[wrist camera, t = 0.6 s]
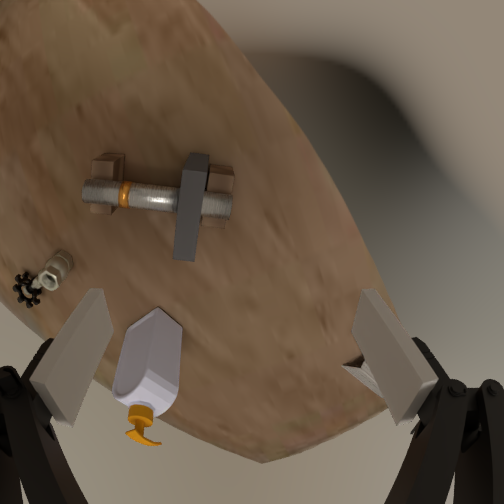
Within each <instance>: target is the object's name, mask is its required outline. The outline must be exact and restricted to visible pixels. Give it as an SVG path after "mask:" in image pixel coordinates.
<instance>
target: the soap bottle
mask: <svg viewBox="0 0 504 504" xmlns="http://www.w3.org/2000/svg"><path fill="white" fill-rule="evenodd" d="M181 342H182V327H181V326H180V325H179V324H178V323H177V322H175V321H174V320H173V319H172V318H171V317H169V316H168V315H167V314H166V313H165V312H164V311H162V310H161V309H160V308H159V307H157V308H155V309H154V310H152V311H151V312H150V313H148V314H147V315H145V316H144V317H142V318H141V319H140V320H138V321H137V322H135V323H134V324H133V325H131V326H130V327H129V328H128V329H127V331H126V335H125V338H124V342H123V346H122V350H121V354H120V358H119V362H118V366H117V370H116V374H115V378H114V383H113V387H112V394H113V396H114V398H115V399H116V400H118V401H119V402H121V403H123V404H125V405H126V406H128V408H129V415H128V421H129V422H130V423H131V424H133V425H135V429H133V430H130V431H127V432H126V433H125V434H126V435H128V436H129V437H130V438H131V439H133V440H135V441H136V442H139V443H141V444H144V445H147V446H158V445H161V444H162V443H161V442H153V441H151V440H149V439H147V438H145V437H144V436H143V434H144V427H149V426H151V425H152V423H153V417H157V416H159V415H161V414H162V413H164V412H165V411H166V410H167V409H168V408H169V407H170V406H171V405H172V404H173V402H174V400H175V398H176V397H177V393H178V389H179V372H180V356H181Z"/></svg>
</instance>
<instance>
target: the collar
mask: <svg viewBox="0 0 504 504" xmlns="http://www.w3.org/2000/svg"><path fill="white" fill-rule="evenodd" d="M208 160H209V155H206V154H199V153H190V155H189V157H188V159H187V161H186V164H185V166H184V168H183V172H182V179H181V187H180V194H179V203H178V211H177V220H176V230H175V240H174V251H173V259H176V260H184V261H192V262H194V260H195V253H196V245H197V237H198V230H199V223H200V216H201V209H202V203H203V196H204V190H205V184H206V178H207V171H208Z"/></svg>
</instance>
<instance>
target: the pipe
mask: <svg viewBox="0 0 504 504" xmlns="http://www.w3.org/2000/svg"><path fill="white" fill-rule="evenodd" d="M179 194H180V188H176V187H168V186H160V185H151V184H141V183H134V182H130V181H111V180H99V179H86V180H85V182H84V185H83V189H82V200H83V202H84V203H90V204H100V205H109V206H119V207H120V208H137V209H145V210H154V211H162V212H170V213H177V211H178V203H179ZM231 208H232V195H228V194H221V193H214V192H207V191H204V196H203V203H202V209H201V216H202V217H210V218H217V219H224V220H229V217H230V213H231Z"/></svg>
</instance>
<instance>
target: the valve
mask: <svg viewBox="0 0 504 504" xmlns="http://www.w3.org/2000/svg"><path fill="white" fill-rule="evenodd" d="M72 266H73V261H72V256H71V255H70V254H68V253H67V252H65V251H63V250H61V251H60V252H58V253H57V254H55V256H54V257H52V258H51V259H49V260H48V262H47V263H46V266H45V268H43V269H42V270H40V271H39V273H38V277H36V278H33V279H31V280H30V279H28V276H29V273H28V272H25V273H24V274H23V275H22V277H23V278H22V279H21V278H20V276H21V275H20V274H18V275H17V276H16V277H15V280H16V281H17V282H18V285H17V284H15V285H14V286H13V290H14V291H15V292H18V293H19V297H18V298H17V300H18V302H19V303H22V302H23V301H26V306H27V308H31V307H33V304H31V302H33V303H34V304H35V305H38V304H39V303H40V299H37V298H36V297H37V295H40V294H41V293H42V291H41V289H40V287H42V286H44V287H45V288H47V289H48V290H50V291H53V290H55V289H57V288H58V287H59V286H60V284H61V283H62V282H63V281H64V280H65V279H66V278H67V276H68V273H69V270H70V269H71V268H72ZM26 282H27V283H26ZM22 286H25V287H24V288H23V290H24V293H25V294H27V295H29V294H32V298H31V299H30V298H27V297H25V296H24V294H23V293H22V290H21V287H22Z"/></svg>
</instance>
